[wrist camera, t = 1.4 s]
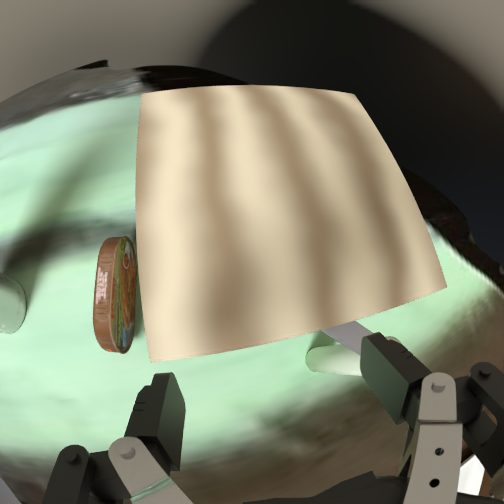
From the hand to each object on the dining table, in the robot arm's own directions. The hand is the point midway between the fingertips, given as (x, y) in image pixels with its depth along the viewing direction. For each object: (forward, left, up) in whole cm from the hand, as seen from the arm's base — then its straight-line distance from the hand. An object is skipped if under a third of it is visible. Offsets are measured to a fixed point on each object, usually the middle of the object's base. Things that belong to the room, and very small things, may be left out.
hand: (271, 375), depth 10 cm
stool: (+6, +13, -26) cm, 30 cm away
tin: (-13, +10, -27) cm, 31 cm away
